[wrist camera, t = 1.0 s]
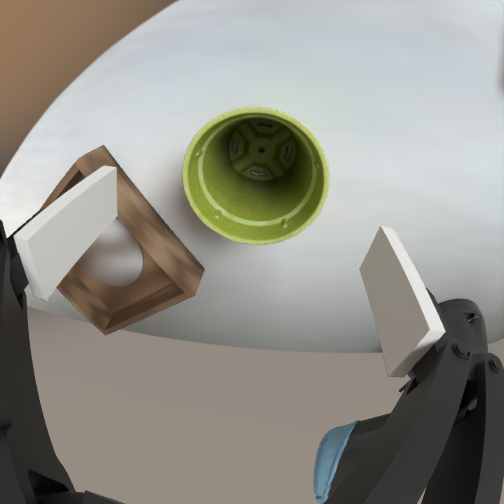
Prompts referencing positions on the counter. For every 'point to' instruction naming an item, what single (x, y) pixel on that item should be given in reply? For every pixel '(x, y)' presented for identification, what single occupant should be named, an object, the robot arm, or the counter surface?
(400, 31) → the counter surface
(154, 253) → the brown wooden square tray
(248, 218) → the plant pot
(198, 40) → the counter surface
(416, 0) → the counter surface
